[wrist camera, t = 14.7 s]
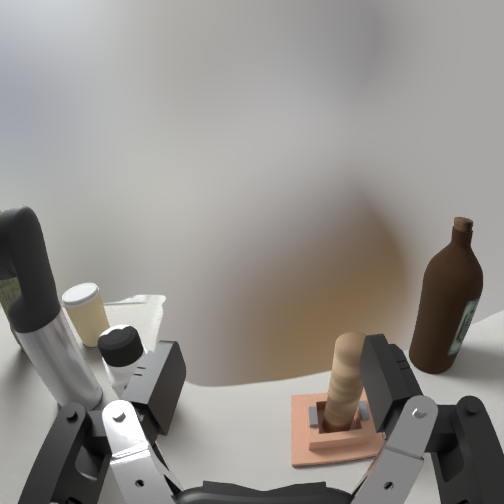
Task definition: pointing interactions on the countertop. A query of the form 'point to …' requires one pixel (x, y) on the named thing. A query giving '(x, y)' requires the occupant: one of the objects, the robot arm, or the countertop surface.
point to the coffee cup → (86, 312)
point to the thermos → (10, 299)
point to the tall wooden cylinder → (344, 383)
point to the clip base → (330, 444)
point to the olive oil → (447, 302)
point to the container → (121, 355)
